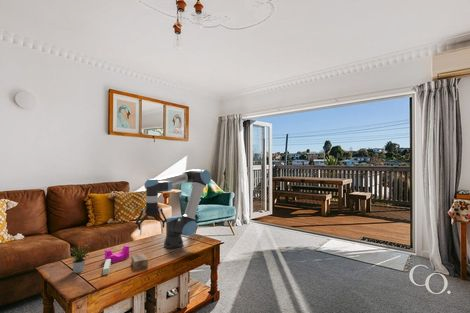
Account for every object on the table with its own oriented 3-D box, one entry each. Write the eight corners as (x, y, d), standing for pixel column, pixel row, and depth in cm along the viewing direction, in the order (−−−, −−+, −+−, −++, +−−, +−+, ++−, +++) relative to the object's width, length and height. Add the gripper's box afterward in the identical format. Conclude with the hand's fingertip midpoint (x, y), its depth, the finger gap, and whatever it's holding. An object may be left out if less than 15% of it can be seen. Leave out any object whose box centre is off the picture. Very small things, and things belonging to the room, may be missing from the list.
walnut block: (143, 260, 173) (144, 253, 173) (147, 267, 163) (147, 259, 163) (131, 263, 169) (131, 255, 169) (134, 269, 159) (134, 261, 159)
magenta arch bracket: (108, 263, 168) (108, 252, 168) (104, 261, 172) (104, 250, 172) (130, 257, 179) (130, 247, 179) (126, 255, 183) (126, 244, 183)
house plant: (62, 279, 145) (63, 250, 145) (61, 270, 156) (62, 244, 157) (91, 272, 154) (91, 245, 154) (88, 265, 165) (88, 239, 165)
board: (110, 264, 167) (111, 258, 167) (108, 274, 152) (108, 268, 152) (105, 265, 166) (105, 259, 166) (103, 275, 151) (103, 269, 151)
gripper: (169, 200, 179) (169, 230, 179) (131, 202, 170) (131, 233, 169) (171, 201, 172) (171, 233, 172) (132, 203, 163) (131, 237, 162)
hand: (151, 233), depth 170 cm, fingers open, 13 cm apart
